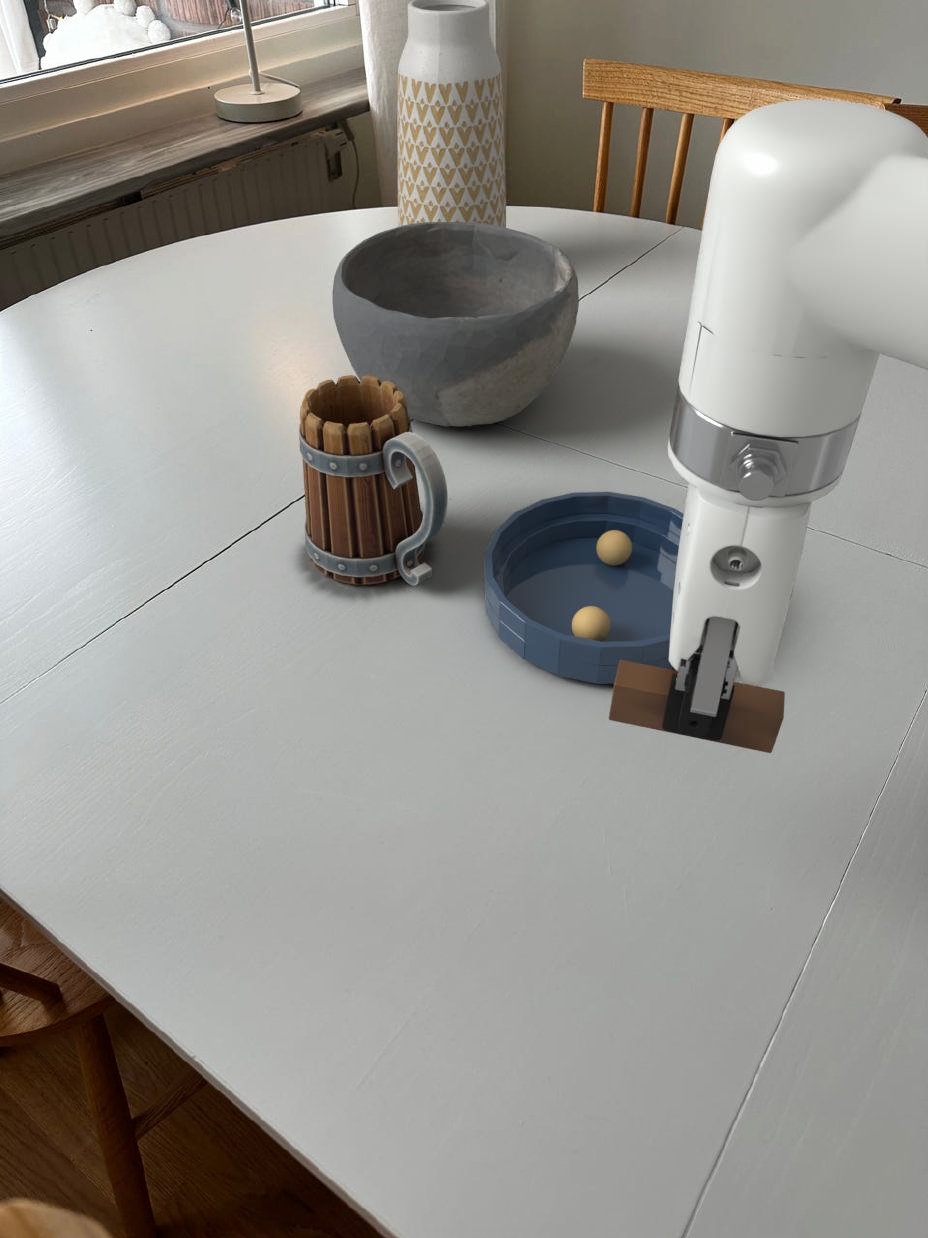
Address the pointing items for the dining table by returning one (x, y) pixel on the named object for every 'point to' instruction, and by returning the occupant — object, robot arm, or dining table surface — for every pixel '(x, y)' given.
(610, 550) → the bead
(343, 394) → the mug
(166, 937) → the dining table surface
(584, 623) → the bead
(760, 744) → the brown wooden block
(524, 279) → the bowl
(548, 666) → the round tray
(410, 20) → the vase
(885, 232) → the robot arm
